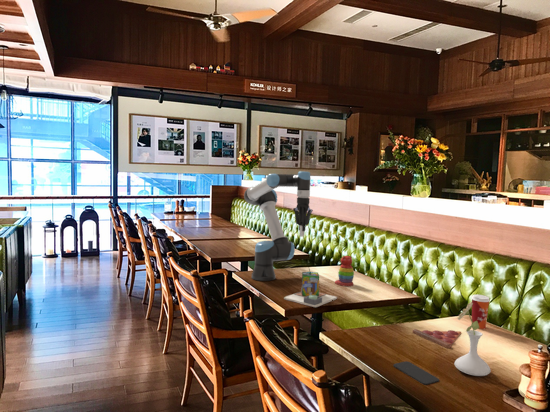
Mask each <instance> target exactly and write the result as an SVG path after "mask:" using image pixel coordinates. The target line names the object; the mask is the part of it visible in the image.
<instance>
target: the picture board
mask: <svg viewBox="0 0 550 412" xmlns="http://www.w3.org/2000/svg"><path fill="white" fill-rule="evenodd" d="M283 299H284V300H286V301H289V302H294V303H298V304H301V305H305V306H307V307H308V306H309V307H311V308H312V307H313V308H318V307H320V306H322V305H323V306H324V305H325V304H328V303H330V302H333V301H335V300H337V299H338V296H335V295H331V294H326V293H322V292H319V296H317V299H315V300H314V299H310V298H309V296H302V290H301V291H299V292H296V293H293V294H289V295H286V296H284V297H283ZM332 300H333V301H332Z"/></svg>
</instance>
